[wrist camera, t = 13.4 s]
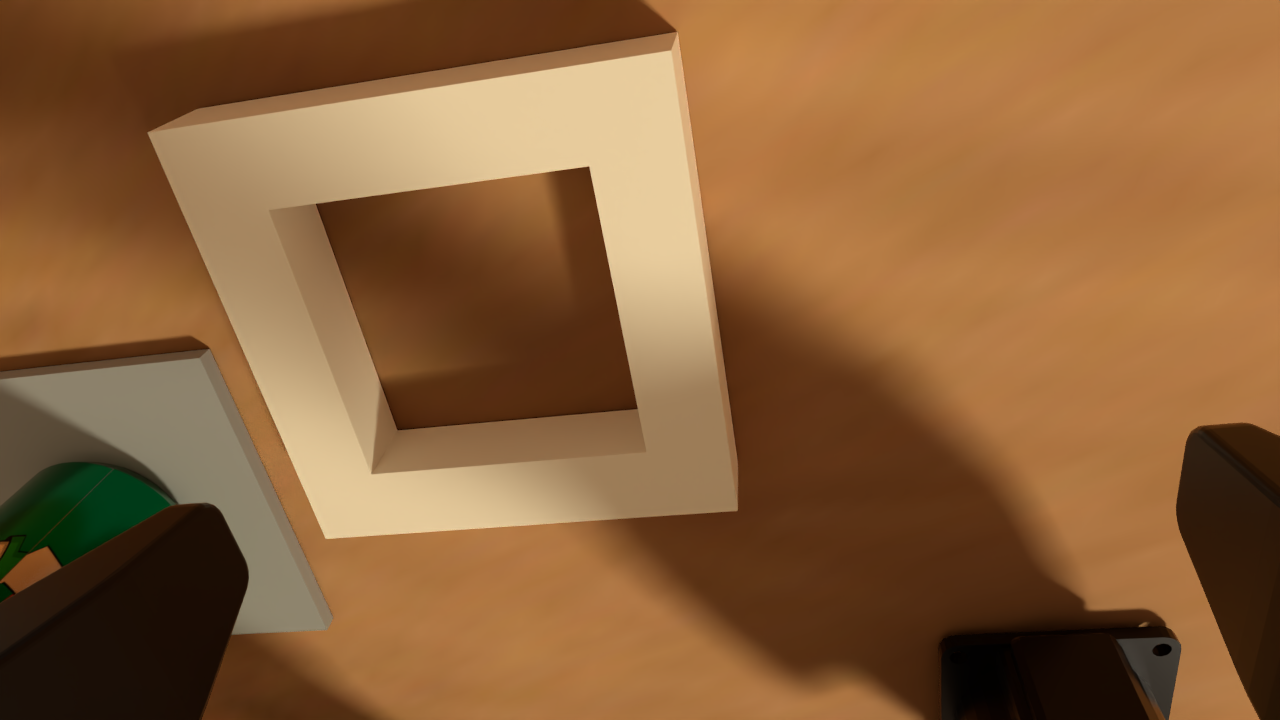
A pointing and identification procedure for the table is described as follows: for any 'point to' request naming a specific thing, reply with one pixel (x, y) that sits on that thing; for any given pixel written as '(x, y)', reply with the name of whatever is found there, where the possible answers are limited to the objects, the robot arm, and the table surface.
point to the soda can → (69, 518)
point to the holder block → (448, 155)
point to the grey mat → (166, 460)
